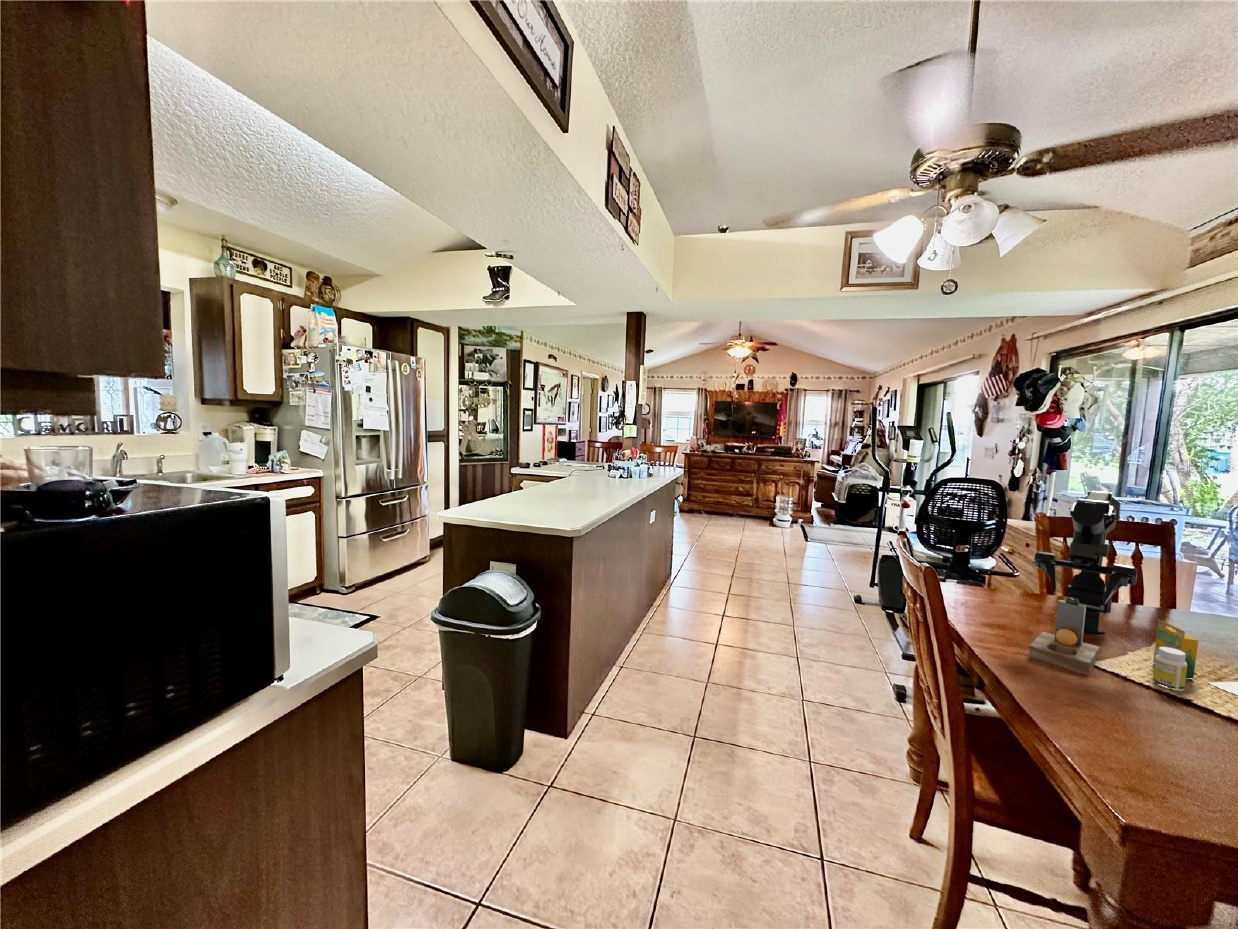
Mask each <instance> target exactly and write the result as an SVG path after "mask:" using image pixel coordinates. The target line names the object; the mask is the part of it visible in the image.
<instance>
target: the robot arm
mask: <svg viewBox="0 0 1238 929" xmlns="http://www.w3.org/2000/svg"><path fill="white" fill-rule="evenodd" d="M1069 514H1070V517H1071V518H1072V527H1073V536H1072V540H1071V541H1072V542H1070V544H1069V545H1070V546H1069V548H1068V552H1067V559H1068V560H1067V559H1062V558H1057V556H1056V553H1053V552H1047V551H1046V552H1045V551H1041V550H1039V551H1036V552H1035V553H1034V558H1033V561H1034V564H1035V568H1037V569H1041V571H1042V572H1044V573H1046V574H1047V576H1048V578H1049V581H1050V585H1051V586H1050V587H1051V590H1052V594H1056V592H1057V567H1060V568H1061V567H1062V568H1067V569H1072V570H1079V571H1080V572H1079V573H1078V574H1074V575H1073V577H1072V579H1071V583H1070V584H1068V585H1067V590H1066V597H1072V598H1076V599H1078V600H1079V604H1082V605H1086V612H1085V622H1084V631H1083V632H1089V633H1097V634H1106V632H1105V630H1103V629H1101V628H1100V619H1101V613H1103V614H1111V612H1112V596H1113V595H1114V594H1115V593H1116V591H1118V590H1119V589H1120V588H1122V587H1126V588H1127V587H1128V586H1129V585H1130V586H1131V585H1132V586H1133V585H1134V586H1135V585H1136V584H1137V576H1138V568H1136V567H1135V566H1133V565H1127V564H1121V563H1115V562H1114V563H1113V567H1110V566H1103V559H1104V558H1108V556H1109V547H1110V545H1109V544H1108V543H1106V540H1107V534H1108V533H1110V532H1111V531H1112V530H1113V529H1115V527H1116V522H1117V521H1118V522H1119V521H1120V517H1121V502H1120V501H1118V500H1117V499H1116V498H1114V497H1113V492H1110V491H1106V490H1094V489H1091V490H1088V491H1087V495H1086V496H1085V497H1083V498H1082V497H1081V498H1077V500H1076V501H1074V502H1073V504H1072V506H1071V508H1070V513H1069ZM1101 575H1107V576H1109V579H1108V583H1107V586H1106V583H1105V580H1104V579H1103V578H1102V576H1101Z"/></svg>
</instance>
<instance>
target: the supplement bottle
mask: <svg viewBox="0 0 1238 929" xmlns="http://www.w3.org/2000/svg"><path fill="white" fill-rule="evenodd" d="M1158 654H1159V655H1157V656H1156V657H1155V665H1153V666H1154V668H1153V675H1152V677H1153V678H1152V681H1155V682H1156V683H1157V684H1161V685H1164V686H1167V687H1168V688H1174V689H1177V690H1183V689H1184V690H1185V688H1186V681H1187V680H1186V672H1187V663H1186V662H1185V661H1184V660H1185V656H1186V654H1185V653H1184V652H1182V651H1180V650H1177V649H1173V648H1169V647H1159V650H1158ZM1157 684H1156V685H1157Z"/></svg>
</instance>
